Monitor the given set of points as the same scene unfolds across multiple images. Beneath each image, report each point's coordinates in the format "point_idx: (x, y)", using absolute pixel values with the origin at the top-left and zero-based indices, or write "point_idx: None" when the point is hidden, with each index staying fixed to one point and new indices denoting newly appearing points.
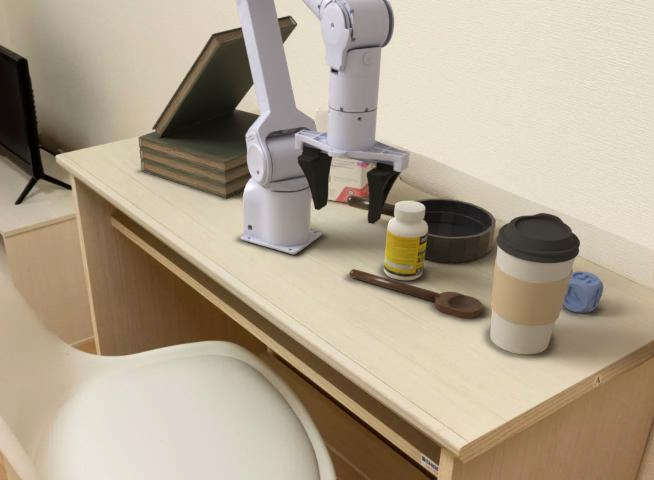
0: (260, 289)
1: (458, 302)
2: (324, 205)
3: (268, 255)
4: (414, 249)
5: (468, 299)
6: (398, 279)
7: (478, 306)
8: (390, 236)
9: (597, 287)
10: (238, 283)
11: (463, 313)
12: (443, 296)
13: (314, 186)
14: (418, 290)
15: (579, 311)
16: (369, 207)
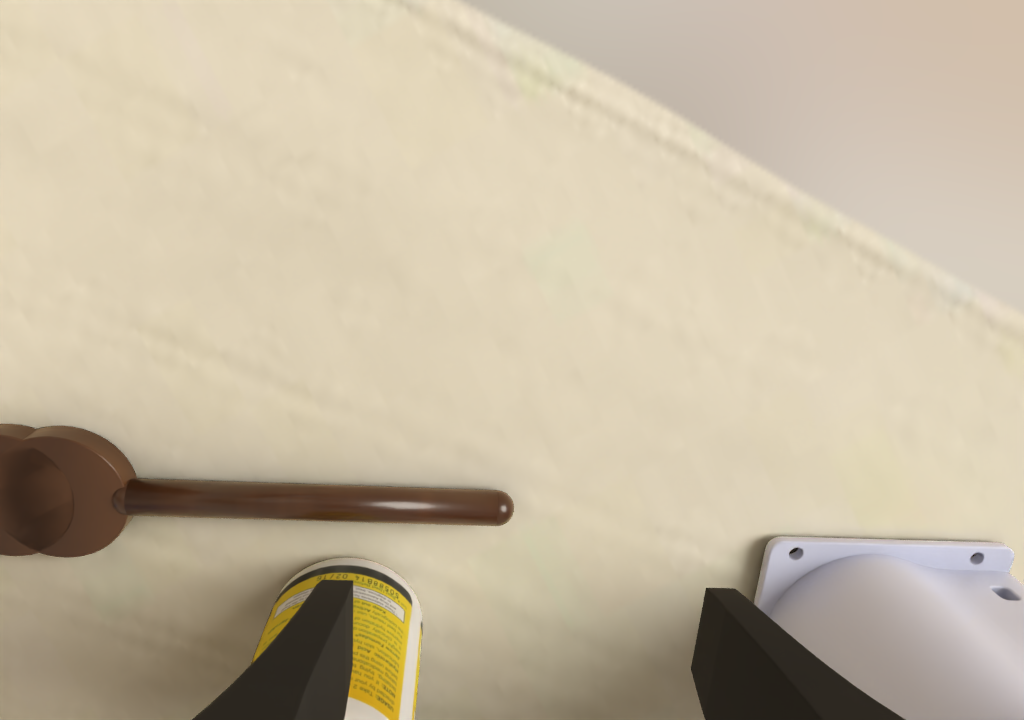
0: (788, 242)
1: (28, 492)
2: (697, 649)
3: (860, 493)
4: None
5: (8, 530)
6: (335, 558)
7: None
8: (366, 687)
9: None
10: (889, 241)
11: None
12: (101, 505)
13: (805, 683)
14: (202, 496)
15: None
16: (318, 639)
